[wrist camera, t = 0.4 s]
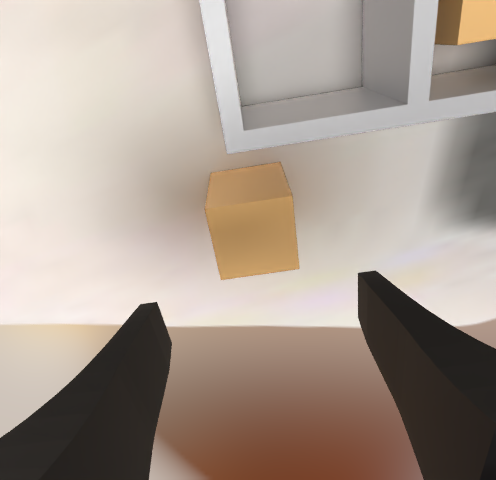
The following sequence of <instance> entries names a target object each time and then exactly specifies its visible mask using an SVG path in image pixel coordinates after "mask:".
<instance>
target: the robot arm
mask: <svg viewBox="0 0 496 480" xmlns="http://www.w3.org/2000/svg"><path fill="white" fill-rule="evenodd" d="M358 318H359V321H360V325H361V328H362V331H363V333H364V336H365V339H366V342H367V344H368V347H369V349H370V351H371V353H372V355H373V357H374V359H375V361H376V363H377V365H378V367H379V370H380V372H381V374H382V376H383V378H384V380H385V382H386V384H387V386H388V388H389V390H390V392H391V394H392V396H393V398H394V400H395V403H396V405H397V407H398V410H399V412H400V414H401V417H402V420H403V422H404V425H405V428H406V431H407V433H408V436H409V439H410V441H411V444H412V447H413V450H414V453H415V455H416V458H417V461H418V464H419V467H420V470H421V473H422V475H423V478H424V480H496V349H495V348H493V347H491V346H488V345H487V344H484V343H483V342H481V341H478V340H477V339H475V338H473V337H471V336H469V335H468V334H466V333H464V332H462V331H460V330H458V329H457V328H455V327H453V326H452V325H450V324H448V323H447V322H445V321H444V320H442V319H441V318H439V317H437V316H436V315H434V314H433V313H431V312H430V311H428V310H427V309H425V308H424V307H423V306H421V305H420V304H418V303H417V302H416V301H414V300H413V299H411V298H410V297H409V296H407V295H406V294H405V293H404V292H402V291H401V290H400V289H398V288H397V287H396V286H395V285H393V284H392V283H391V282H390V281H388V280H387V279H386V278H384V277H383V276H382V275H381V274H379V273H378V272H377V271H369V272H362V273H358ZM171 346H172V342H171V340H170V337H169V334H168V331H167V329H166V326H165V323H164V320H163V317H162V315H161V312H160V309H159V306H158V304H157V302H153V303H146V304H140V305H139V307H138V308H137V309H136V310H135V311H134V312H133V314H132V315H131V316H130V317H129V318H128V320H127V321H126V322H125V323H124V324H123V326H122V327H121V328H120V329H119V330H118V332H117V333H116V334H115V335H114V336H113V337H112V339H111V340H110V341H109V342H108V343H107V344H106V346H105V347H104V348H103V349H102V350H101V351H100V352H99V353H98V354H97V356H95V358H94V359H93V360H92V361H91V362H90V363H89V364H88V365H87V366H86V367H85V368H84V369H83V370H82V371H81V372H80V373H79V374H78V375H77V376H76V377H75V378H74V379H73V380H72V381H71V382H70V383H69V384H68V385H66V386H65V387H64V388H63V389H62V390H61V391H60V392H59V393H58V394H56V395H55V396H54V397H53V398H52V399H50V400H49V401H48V402H47V403H46V404H44V405H43V406H42V407H41V408H39V409H38V410H37V411H36V412H34V413H33V414H32V415H31V416H30V417H28V418H27V419H26V420H24V421H23V422H22V423H20V424H19V425H18V426H16V427H15V428H14V429H13V430H11V431H10V432H8V433H7V434H5V435H4V436H3V437H1V438H0V480H149V472H150V464H151V457H152V449H153V442H154V436H155V431H156V426H157V422H158V418H159V413H160V409H161V405H162V400H163V396H164V391H165V387H166V382H167V378H168V373H169V368H170V367H169V366H170V358H171Z"/></svg>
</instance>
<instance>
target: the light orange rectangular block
mask: <svg viewBox="0 0 496 480" xmlns="http://www.w3.org/2000/svg"><path fill="white" fill-rule="evenodd" d="M205 213H206V217H207V222H208V226H209V230H210V235H211V239H212V243H213V248H214V252H215V256H216V260H217V265H218V269H219V273H220V278H221V280H225V279H232V278H239V277H246V276H253V275H260V274H267V273H274V272H281V271H288V270H295V269H299V259H298V249H297V238H296V228H295V217H294V207H293V196H292V193H291V190H290V188H289V185H288V182H287V179H286V177H285V174H284V171H283V169H282V166H281V163H280V162H277V163H271V164H264V165H258V166H251V167H245V168H239V169H232V170H226V171H219V172H213V173H211V175H210V181H209V187H208V192H207V198H206V204H205Z"/></svg>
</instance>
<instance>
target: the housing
mask: <svg viewBox="0 0 496 480" xmlns="http://www.w3.org/2000/svg"><path fill="white" fill-rule="evenodd" d="M199 2H200V8H201V13H202V19H203V24H204V30H205V35H206V41H207V46H208V52H209V57H210V63H211V68H212V74H213V79H214V85H215V90H216V96H217V101H218V107H219V112H220V118H221V123H222V129H223V134H224V140H225V145H226V151H227V154H232V153H238V152H244V151H251V150H257V149H263V148H270V147H276V146H282V145H289V144H295V143H301V142H308V141H314V140H320V139H327V138H333V137H339V136H346V135H352V134H358V133H365V132H371V131H377V130H384V129H390V128H396V127H403V126H409V125H415V124H422V123H428V122H434V121H440V120H447V119H453V118H459V117H466V116H472V115H478V114H485V113H491V112H496V65H492V66H486V67H479V68H473V69H467V70H461V71H455V72H449V73H443V74H437V75H431V74H432V64H433V53H434V44H440V45H461V44H467V43H473V42H479V41H485V40H491V39H496V0H363V31H362V87H357V88H351V89H345V90H339V91H333V92H327V93H321V94H315V95H309V96H303V97H296V98H290V99H284V100H278V101H272V102H266V103H260V104H254V105H248V106H242V107H241V100H240V94H239V87H238V81H237V74H236V67H235V61H234V54H233V48H232V41H231V34H230V28H229V21H228V14H227V8H226V1H225V0H199Z"/></svg>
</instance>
